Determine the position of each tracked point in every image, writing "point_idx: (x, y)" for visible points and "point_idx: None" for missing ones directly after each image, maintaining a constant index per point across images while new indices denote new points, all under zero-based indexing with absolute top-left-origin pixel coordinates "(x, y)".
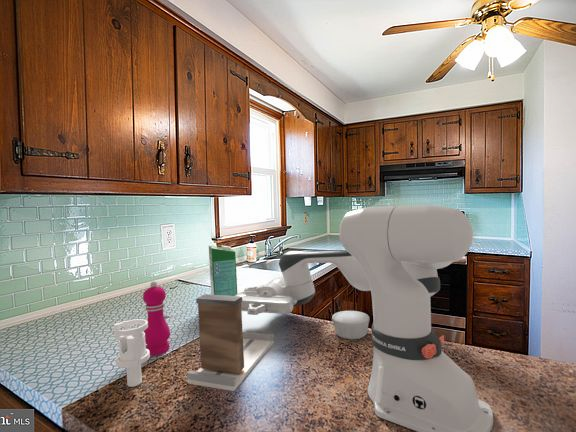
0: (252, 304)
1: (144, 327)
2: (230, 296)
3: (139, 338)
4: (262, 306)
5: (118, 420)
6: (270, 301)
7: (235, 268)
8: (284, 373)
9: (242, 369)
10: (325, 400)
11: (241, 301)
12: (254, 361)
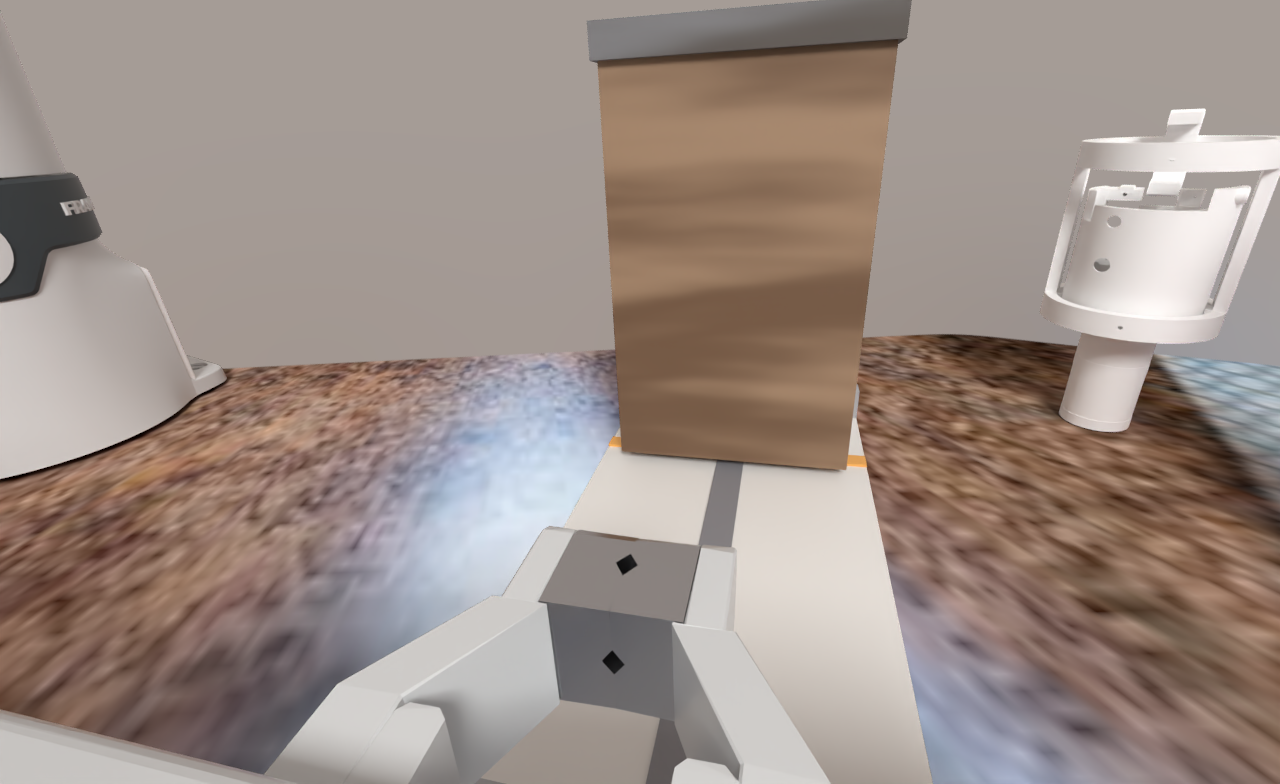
0: (702, 774)
1: (1087, 153)
2: (670, 16)
3: (1069, 195)
4: (397, 658)
5: (914, 343)
6: (17, 773)
7: None
8: (421, 487)
9: (631, 458)
10: (328, 405)
11: (593, 58)
12: (577, 507)
